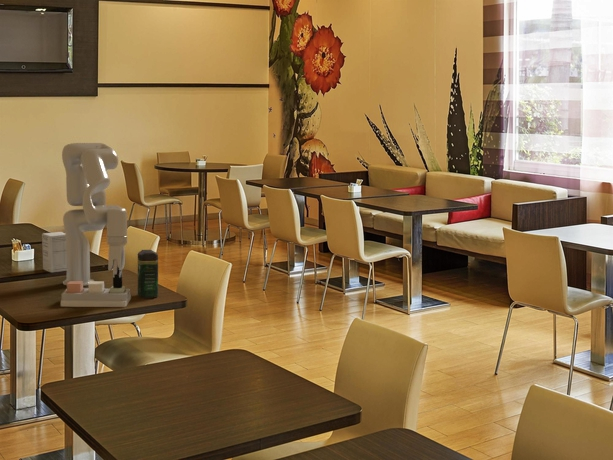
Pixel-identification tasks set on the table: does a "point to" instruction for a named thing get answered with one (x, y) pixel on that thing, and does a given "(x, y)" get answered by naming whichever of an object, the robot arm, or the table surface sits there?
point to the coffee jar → (147, 274)
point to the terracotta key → (74, 286)
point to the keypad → (96, 299)
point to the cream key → (96, 287)
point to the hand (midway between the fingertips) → (117, 287)
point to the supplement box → (54, 251)
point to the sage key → (117, 290)
